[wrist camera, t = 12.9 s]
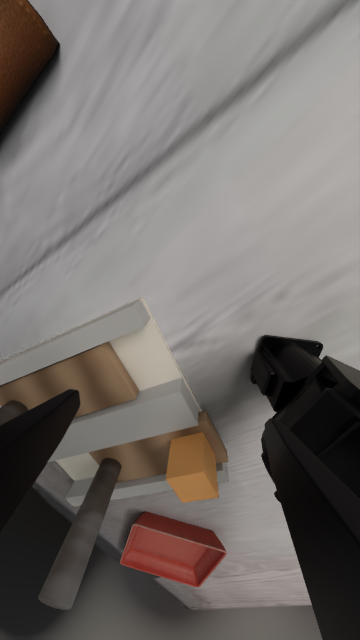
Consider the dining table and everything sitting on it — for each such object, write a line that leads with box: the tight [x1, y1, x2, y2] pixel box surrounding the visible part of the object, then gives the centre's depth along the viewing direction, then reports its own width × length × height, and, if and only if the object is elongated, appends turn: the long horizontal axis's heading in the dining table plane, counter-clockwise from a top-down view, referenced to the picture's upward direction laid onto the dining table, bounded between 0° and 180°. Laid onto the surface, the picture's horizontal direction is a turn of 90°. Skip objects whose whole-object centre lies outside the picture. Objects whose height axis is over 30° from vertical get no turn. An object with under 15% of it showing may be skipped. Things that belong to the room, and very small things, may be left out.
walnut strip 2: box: [38, 411, 228, 610], centre depth 21 cm, size 19×8×13 cm, turn 114°
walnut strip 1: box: [0, 341, 139, 425], centre depth 18 cm, size 19×8×13 cm, turn 114°
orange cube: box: [166, 432, 219, 503], centre depth 22 cm, size 4×4×4 cm
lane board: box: [0, 297, 229, 507], centre depth 26 cm, size 28×27×3 cm
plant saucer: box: [120, 512, 227, 587], centre depth 37 cm, size 18×18×3 cm
